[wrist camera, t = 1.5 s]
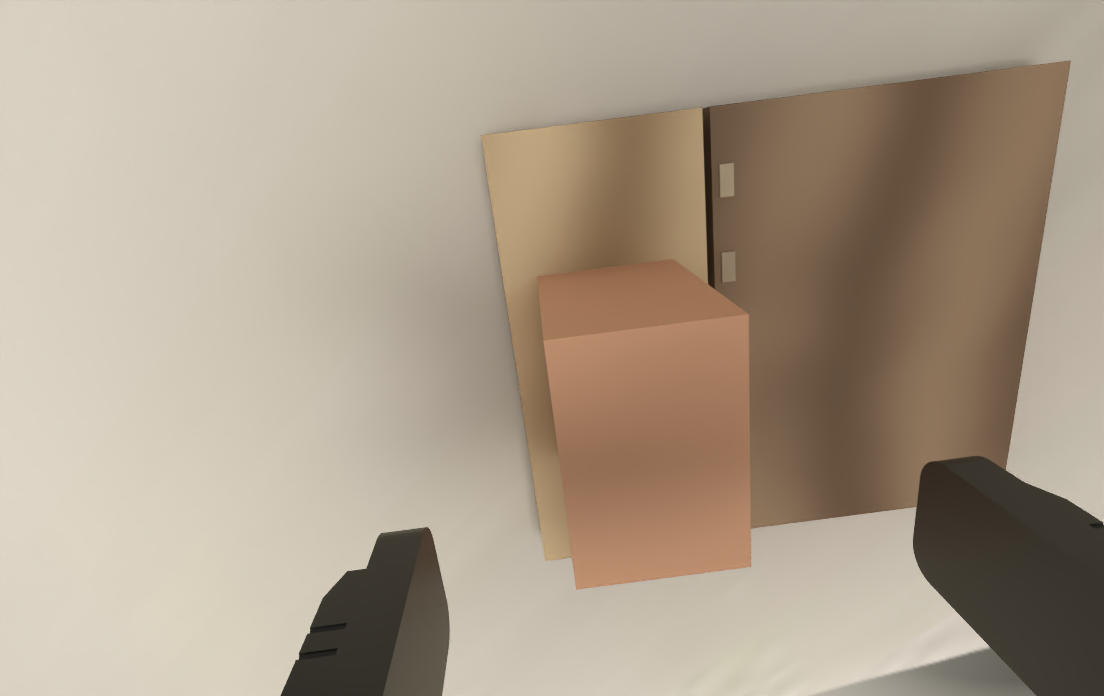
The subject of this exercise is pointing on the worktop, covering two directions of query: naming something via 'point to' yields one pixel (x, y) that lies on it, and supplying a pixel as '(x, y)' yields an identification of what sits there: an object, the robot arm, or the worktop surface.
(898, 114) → the brown notebook
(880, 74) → the worktop surface
